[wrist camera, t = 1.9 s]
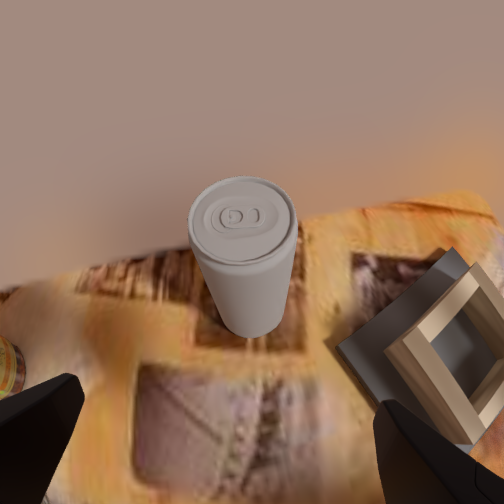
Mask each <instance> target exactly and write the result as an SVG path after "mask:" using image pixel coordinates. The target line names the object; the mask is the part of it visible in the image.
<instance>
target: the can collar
mask: <svg viewBox="0 0 504 504" xmlns="http://www.w3.org/2000/svg"><path fill="white" fill-rule="evenodd" d="M335 348H336V350H337V351H338V353H339V354H340V355H341V357H342V358H343V359H344V361H345V362H346V364H347V365H348V366H349V368H350V369H351V370H352V372H353V373H354V375H355V376H356V377H357V379H358V380H359V381H360V383H361V384H362V386H363V387H364V388H365V390H366V391H367V392H368V394H369V395H370V397H371V398H372V399H373V401H374V402H375V403H376V405H377V406H378V407H379V404H380V402H381V401H382V400H388V399H396V400H397V401H398V402H400V403H401V404H402V405H404V406H405V407H406V408H407V409H409V410H410V411H411V412H413V413H414V414H415V415H416V416H418V417H419V418H420V419H422V420H423V421H424V422H426V423H427V424H428V425H429V426H431V427H432V428H433V429H435V430H436V431H437V432H439V433H440V434H441V435H443V436H444V437H445V438H447V439H448V440H449V441H450V442H452V443H453V444H454V445H456V446H457V447H458V448H460V449H461V450H463V451H464V452H465V453H467V454H468V453H469V452H470V451H471V449H472V448H473V447H474V446H475V445H476V443H477V442H478V441H479V440H480V438H481V437H482V436H483V435H484V433H485V432H486V431H487V430H488V428H489V427H490V426H491V424H492V423H493V422H494V420H495V419H496V417H497V416H498V415H499V413H500V412H501V410H502V409H503V407H504V298H503V297H502V295H501V294H500V292H499V291H498V289H497V288H496V287H495V285H494V284H493V282H492V281H491V280H490V278H489V277H488V276H487V274H486V273H485V272H484V270H483V269H482V268H481V267H480V265H479V264H478V263H477V262H476V263H474V264H473V265H472V266H471V267H469V266H468V265H467V263H466V262H465V261H464V260H463V258H462V257H461V256H460V255H459V254H458V252H457V251H456V250H455V249H454V248H453V246H452V247H451V248H450V249H449V250H448V251H447V252H446V253H445V254H444V255H443V256H442V257H441V258H440V259H439V260H438V261H437V262H436V263H435V264H434V265H433V266H432V267H431V268H430V269H429V270H428V271H427V272H426V273H425V274H423V275H422V276H421V277H420V278H419V279H418V280H417V281H416V282H415V283H414V284H412V285H411V286H410V287H409V288H408V289H407V290H406V291H405V292H403V293H402V294H401V295H400V296H399V297H398V298H396V299H395V300H394V301H393V302H392V303H391V304H389V305H388V306H387V307H386V308H385V309H383V310H382V311H381V312H380V313H379V314H377V315H376V316H375V317H374V318H372V319H371V320H370V321H369V322H367V323H366V324H365V325H364V326H362V327H361V328H360V329H358V330H357V331H356V332H355V333H353V334H352V335H351V336H349V337H348V338H347V339H345V340H344V341H343V342H341V343H340V344H339V345H337V346H336V347H335Z"/></svg>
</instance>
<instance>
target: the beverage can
mask: <svg viewBox="0 0 504 504" xmlns="http://www.w3.org/2000/svg"><path fill="white" fill-rule="evenodd" d="M187 221H188V236H189V243H190V245H191V248H192V250H193V253H194V255H195V258H196V260H197V262H198V265H199V267H200V270H201V272H202V274H203V277H204V279H205V281H206V284H207V286H208V288H209V291H210V293H211V295H212V298H213V300H214V302H215V304H216V307H217V309H218V311H219V313H220V316H221V318H222V320H223V322H224V324H225V325H226V326H227V328H228V329H229V330H230V331H232V332H233V333H235V334H236V335H239V336H241V337H244V338H256V337H260V336H263V335H265V334H267V333H269V332H270V331H272V330H273V329H274V328H275V327H277V325H278V324H279V323H280V321H281V319H282V316H283V314H284V309H285V304H286V298H287V293H288V288H289V282H290V277H291V271H292V265H293V260H294V254H295V248H296V242H297V236H298V221H297V218H296V211H295V208H294V205H293V202H292V200H291V199H290V197H289V196H288V195H287V193H286V192H285V191H284V190H283V189H281V188H280V187H279V186H278V185H276V184H274V183H272V182H270V181H268V180H266V179H263V178H258V177H254V176H236V177H230V178H226V179H223V180H220V181H218V182H215V183H214V184H212V185H210V186H209V187H207V188H206V189H204V190H203V192H201V193H200V194H199V195H198V196H197V197H196V199H195V201H194V202H193V204H192V206H191V208H190V211H189V215H188V219H187Z"/></svg>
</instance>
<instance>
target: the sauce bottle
mask: <svg viewBox="0 0 504 504" xmlns="http://www.w3.org/2000/svg"><path fill="white" fill-rule="evenodd" d="M25 374H26V373H25V365H24V360H23V357H22V355H21V353H20V351H19V349H18V347H17V346H15V345H13V344H12V343H10V342H9V341H8V340H7V339H6V338H4V337H2V336H1V335H0V399H5V398H7V397H10V396H12V395H15V394H17V393H19V392H21V390H22V388H23V384H24V381H25Z"/></svg>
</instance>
